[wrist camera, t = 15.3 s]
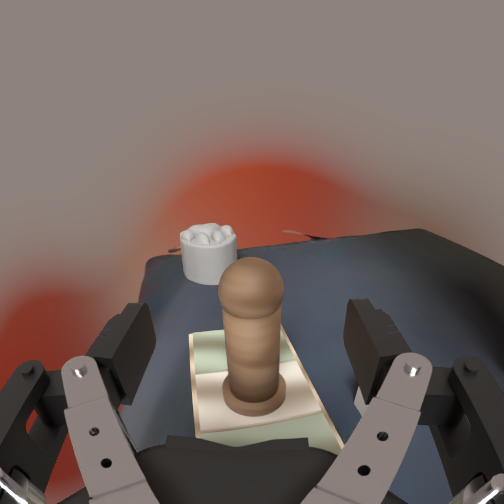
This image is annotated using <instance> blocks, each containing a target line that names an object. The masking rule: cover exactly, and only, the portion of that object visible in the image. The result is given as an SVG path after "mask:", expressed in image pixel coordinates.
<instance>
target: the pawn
mask: <svg viewBox="0 0 504 504" xmlns="http://www.w3.org/2000/svg"><path fill="white" fill-rule="evenodd" d="M218 294H219V299H220V302H221V304H222V312H223V323H224V335H225V346H226V356H227V366H228V375H227V377H226V378H225V379H224V381H223V385H222V390H223V398H224V401H225V403H226V405H227V406H228V407H229V408H230V409H231V410H232V411H234V412H235V413H237V414H240V415H243V416H249V417H259V416H264V415H268V414H270V413H272V412H274V411H276V410H277V409H278V408H279V407H280V406H281V405H282V404H283V402H284V400H285V395H286V382H285V380H284V378H283V377H282V375H281V374H280V373H279V362H280V331H281V303H282V300H283V296H284V284H283V280H282V277H281V275H280V273H279V272H278V270H277V269H276V268H275V267H274V266H273V265H272V264H271V263H269V262H268V261H266V260H264V259H261V258H256V257H246V258H242V259H239V260H237V261H235V262H233V263H232V264H230V265H229V266H228V267H227V268H226V269H225V271H224V272H223V274H222V276H221V278H220V281H219V286H218Z"/></svg>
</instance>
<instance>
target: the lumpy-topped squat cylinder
mask: <svg viewBox="0 0 504 504" xmlns="http://www.w3.org/2000/svg"><path fill="white" fill-rule="evenodd" d="M180 242H181V251H182V261H183V269H184V274H185V276H186V277H187V278H188V279H189V280H191V281H194V282H196V283H200V284H206V285H218V284H219V281H220V278H221V276H222V274H223V272H224V271H225V269H226V268H227V267H228V266H229V265H230V264H232V263H233V262H235V261H237V246H236V245H237V243H236V235H235V234H234V233H233V230H232V228H231V227H230V226H228V225H224V226H219V225H217V224H215V223H209V224H204V225H194V226H191V227H190V228H189V229H188V230H185V231H183V232H181V233H180Z"/></svg>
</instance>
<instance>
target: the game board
mask: <svg viewBox="0 0 504 504" xmlns="http://www.w3.org/2000/svg"><path fill="white" fill-rule="evenodd" d="M189 348H190V367H191V384H192V398H193V411H194V423H195V434H196V438H201V439H205V440H209V441H212V442H216V443H220V444H224V445H228V446H233V447H240V446H245V445H250V444H255V443H259V442H264V441H268V440H272V439H291V438H305V437H308V442H309V447H316V448H320V449H324V450H327V451H330V452H332V453H335V454H337V455H339V453H340V452H341V450H342V449H343V447H344V444H343V442H342V440H341V438H340V436H339V434H338V433H337V431H336V429H335V427H334V425H333V423H332V421H331V419H330V417H329V415H328V414H327V412H326V410H325V408H324V406H323V404H322V402H321V400H320V398H319V396H318V394H317V393H316V391H315V389H314V387H313V385H312V383H311V381H310V379H309V377H308V375H307V373H306V372H305V370H304V368H303V366H302V364H301V362H300V360H299V358H298V356H297V354H296V352H295V350H294V348H293V347H292V345H291V343H290V341H289V339H288V337H287V335H286V333H285V331H284V329H283V327H282V325H281V331H280V362H279V373H280V374H281V375H282V377H283V378H284V380H285V382H286V395H285V400H284V402H283V404H282V405H281V406H280V407H279V408H278V409H277V410H276V411H274V412H272V413H270V414H268V415H264V416H259V417H249V416H243V415H240V414H237V413H235V412H234V411H232V410H231V409H230V408H229V407H228V406H227V405H226V403H225V401H224V398H223V390H222V385H223V381H224V379H225V378H226V377H227V375H228V366H227V356H226V346H225V335H224V330H216V331H207V332H197V333H193V334H189Z"/></svg>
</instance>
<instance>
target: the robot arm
mask: <svg viewBox="0 0 504 504" xmlns="http://www.w3.org/2000/svg"><path fill="white" fill-rule="evenodd" d="M155 344H156V337H155V332H154V328H153V324H152V319H151V315H150V311H149V307H148V305H147V304H146V303H128V304H127V306H126V307H125V308H124V310H123V312H122V313H121V314H117V315H116V316H114V317H113V318H112V319H110V320H109V321H108V322H107V324H106V325H105V327H104V328H103V330H102V331H101V332H100V334H99V336H98V337H97V338H96V340H95V341H94V343H93V344H92V346H91V347H90V349H89V350H88V352H87V353H86V355H85V356H78V357H75V358H72V359H70V360H69V361H67V362H66V363H65V365H64V366H63V368H62V370H56V371H46V370H45V368H44V366H43V364H42V363H41V362H40V361H37V360H30V361H26V362H24V363H22V364H21V365H19V366H18V367H17V368H16V370H15V371H14V372H13V374H12V375H11V377H10V378H9V380H8V381H7V382H6V384H5V385H4V387H3V388H2V390H1V391H0V504H46V498H45V496H44V492H45V489H46V486H47V484H48V481H49V478H50V475H51V473H52V470H53V468H54V465H55V462H56V460H57V457H58V455H59V452H60V450H61V447H62V445H63V442H64V440H65V438H66V435H67V433H68V431H69V434H70V438H71V442H72V445H73V448H74V452H75V455H76V459H77V462H78V465H79V468H80V471H81V474H82V477H83V480H84V482H85V485H86V487H84V488H82V489H81V490H79V491H78V492H76V493H74V494H73V495H71V496H69V497H68V498H66V499H64V500H63V501H61V502H59V503H57V504H408V503H406V502H405V501H403V500H402V499H400V498H399V497H397V496H396V495H394V494H393V493H391V492H390V491H388V489H389V487H390V485H391V483H392V481H393V479H394V477H395V475H396V473H397V471H398V469H399V467H400V464H401V462H402V460H403V458H404V455H405V453H406V451H407V448H408V446H409V444H410V441H411V439H412V436H413V434H414V431H415V428H416V426H417V425H429V427H430V430H431V433H432V435H433V438H434V441H435V444H436V446H437V449H438V452H439V455H440V458H441V461H442V464H443V467H444V470H445V473H446V476H447V479H448V482H449V486H450V489H451V492H452V496H453V498H452V499H451V501H450V502H449V504H504V394H503V392H502V391H501V389H500V387H499V386H498V384H497V383H496V381H495V380H494V378H493V377H492V375H491V373H490V372H489V370H488V369H487V367H486V366H485V365H484V363H482V362H481V361H480V360H478V359H477V358H474V357H470V356H463V357H460V358H458V359H456V361H455V362H454V364H453V367H452V368H441V367H432V365H431V363H430V361H429V360H428V359H427V358H425V357H424V356H422V355H420V354H417V353H412V351H411V350H410V348H409V347H408V345H407V343H406V342H405V340H404V338H403V337H402V335H401V334H400V332H398V329H397V327H396V326H395V325H394V322H393V321H392V319H391V318H390V316H389V315H387V314H386V313H385V312H383V311H382V310H380V309H379V310H375V309H374V307H373V305H372V304H371V302H370V301H369V299H368V298H363V299H350V300H349V301H348V305H347V313H346V320H345V327H344V345H345V348H346V351H347V354H348V356H349V359H350V362H351V365H352V368H353V370H354V373H355V376H356V379H357V382H358V385H359V388H360V391H361V394H362V396H363V399H364V402H365V405H369V406H368V408H367V409H366V411H365V413H364V415H363V416H362V418H361V420H360V421H359V423H358V425H357V426H356V428H355V430H354V431H353V433H352V435H351V436H350V438H349V439H348V441H347V443H346V444H345V446H344V447H343V449H342V450H341V452H340V453H339V455H337V454H335V453H332V452H330V451H327V450H324V449H320V448H316V447H309V442H308V437H305V438H291V439H272V440H268V441H264V442H259V443H255V444H250V445H245V446H240V447H233V446H228V445H224V444H220V443H216V442H212V441H209V440H205V439H201V438H190V437H179V436H170V435H168V436H167V440H166V444H165V445H158V446H153V447H150V448H147V449H144V450H142V451H139V452H138V450H137V448H136V446H135V444H134V442H133V440H132V438H131V436H130V434H129V432H128V430H127V428H126V426H125V424H124V421H123V419H122V417H121V415H120V413H119V411H118V408H119V406H120V404H124V405H131V404H132V402H133V399H134V397H135V394H136V392H137V389H138V387H139V385H140V382H141V380H142V377H143V375H144V372H145V370H146V368H147V365H148V363H149V361H150V358H151V356H152V353H153V351H154V349H155ZM33 409H34V411H35V412H36V414H37V415H38V416H37V418H36V420H35V422H34V424H33V425H32V427H31V429H30V431H29V433H28V434H27V432H26V422H27V420H28V418H29V416H30V415H31V412H32V411H33ZM465 414H466V416H467V418H468V420H469V422H470V425H471V427H470V425H469V422H468V420H467V418H466V416H465Z"/></svg>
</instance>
